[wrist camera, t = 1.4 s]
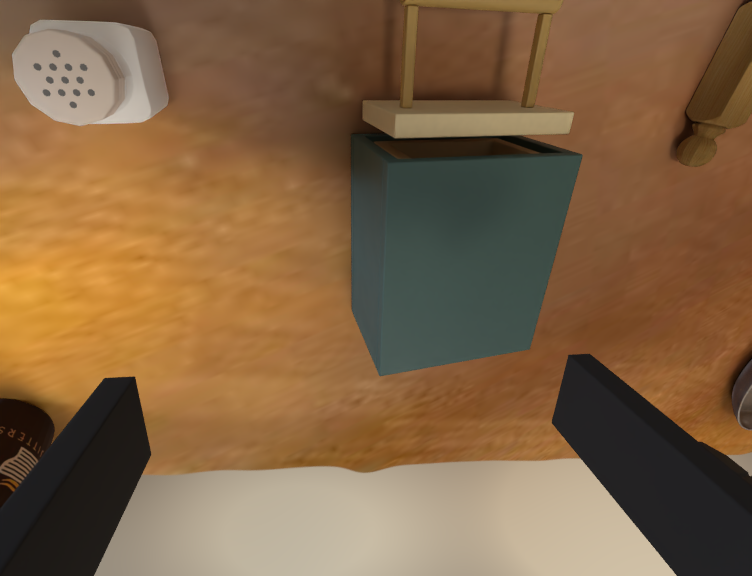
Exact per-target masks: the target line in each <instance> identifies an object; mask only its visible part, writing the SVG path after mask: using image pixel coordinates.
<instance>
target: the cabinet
mask: <svg viewBox="0 0 752 576" xmlns="http://www.w3.org/2000/svg"><path fill="white" fill-rule="evenodd" d="M482 138H498V139H501V140H504V141H507V142H510V143H513V144H516V145H518V146H521V147H524V148H527V149H530V150H533V151H536V152H539V153H537V154H512V155H486V156H460V157H435V158H409V159H397V158H395V157H394V156H392V155H391V154H389V153H388V152H386V151H385V150H384V149H382V148H381V147H379V146H378V145H376V144H375V143H374V142H375V141H408V140H445V139H482ZM581 160H582V154H579V153H576V152H572V151H569V150H566V149H562V148H559V147H556V146H553V145H549V144H546V143H543V142H540V141H536V140H533V139H530V138H526V137H523V136H520V135H511V136H471V137H432V138H393V137H392V136H390V135H388V134H386V133H380V134H351V249H352V312H353V314H354V317H355V319H356V322H357V324H358V326H359V329H360V331H361V333H362V336H363V338H364V340H365V343H366V345H367V348H368V350H369V352H370V355H371V357H372V359H373V362H374V364H375V366H376V368H377V371H378V373H379V376H384V375H389V374H395V373H401V372H406V371H412V370H417V369H423V368H428V367H434V366H440V365H445V364H451V363H456V362H462V361H467V360H473V359H479V358H484V357H490V356H495V355H501V354H506V353H512V352H518V351H523V350H529V349H530V346H531V342H532V339H533V335H534V331H535V328H536V324H537V320H538V317H539V313H540V309H541V306H542V302H543V299H544V295H545V291H546V288H547V284H548V280H549V277H550V273H551V269H552V266H553V262H554V258H555V255H556V251H557V247H558V244H559V240H560V236H561V233H562V229H563V225H564V222H565V218H566V214H567V211H568V207H569V204H570V200H571V196H572V193H573V189H574V185H575V182H576V178H577V174H578V171H579V167H580V163H581Z"/></svg>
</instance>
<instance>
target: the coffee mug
mask: <svg viewBox="0 0 752 576" xmlns="http://www.w3.org/2000/svg"><path fill="white" fill-rule="evenodd" d="M54 431H55V430H54V424H53V422H52V420H51V418H50V417H49V416H48V415H47V414H46V413H45V412H44V411H42V410H41V409H39V408H37V407H36V406H34V405H31V404H28V403H26V402H22V401H18V400H12V399H0V508H1V507H2V506H3V505H4V503H5V502H6V501H7V500H8V498H9V497H10V496H11V495H12V493H13V492H14V491H15V490H16V488H17V487H18V486H19V485H20V483H21V482H22V481H23V480H24V478H25V477H26V476H27V474H28V473H29V472H30V471H31V469H32V468H33V467H34V466H35V464H36V463H37V462H38V461H39V459H40V458H41V457H42V456H43V454H44V453H45V452H46V451H47V449H48V448H49V447H50V446H51V442H52V439H53V436H54Z"/></svg>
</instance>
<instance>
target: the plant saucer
mask: <svg viewBox="0 0 752 576" xmlns="http://www.w3.org/2000/svg"><path fill="white" fill-rule="evenodd" d="M732 406H733V410H734V414H735V416H736V419H737V421H738V423H739V425H740V426H741V427H742V428H744V429H746V430H752V359H751V360H750V362H749V363H748V364H747V365H746V366H745V368H744V369H743V370H742V372H741V374H740V375H739V377H738V379H737V380H736V382H735V385H734V388H733V392H732Z"/></svg>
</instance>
